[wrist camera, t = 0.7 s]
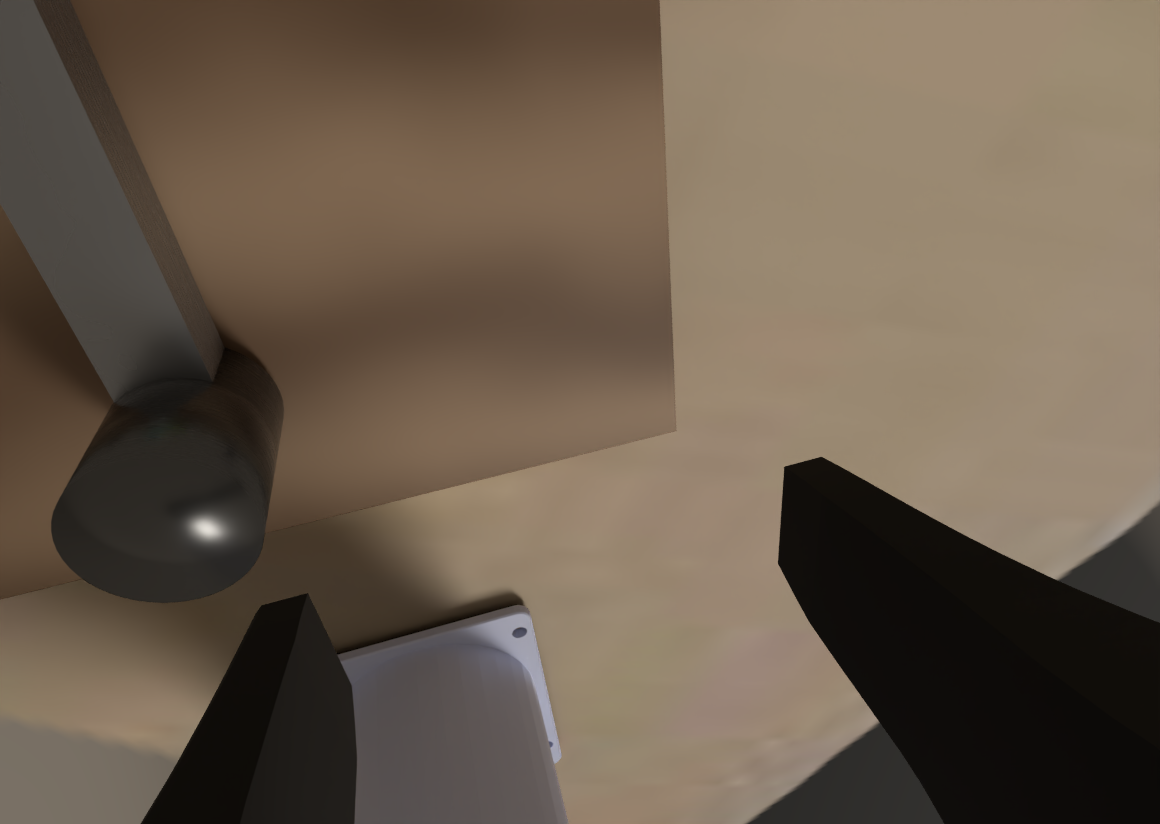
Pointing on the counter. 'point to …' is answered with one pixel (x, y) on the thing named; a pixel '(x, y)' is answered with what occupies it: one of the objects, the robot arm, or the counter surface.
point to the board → (378, 242)
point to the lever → (130, 334)
